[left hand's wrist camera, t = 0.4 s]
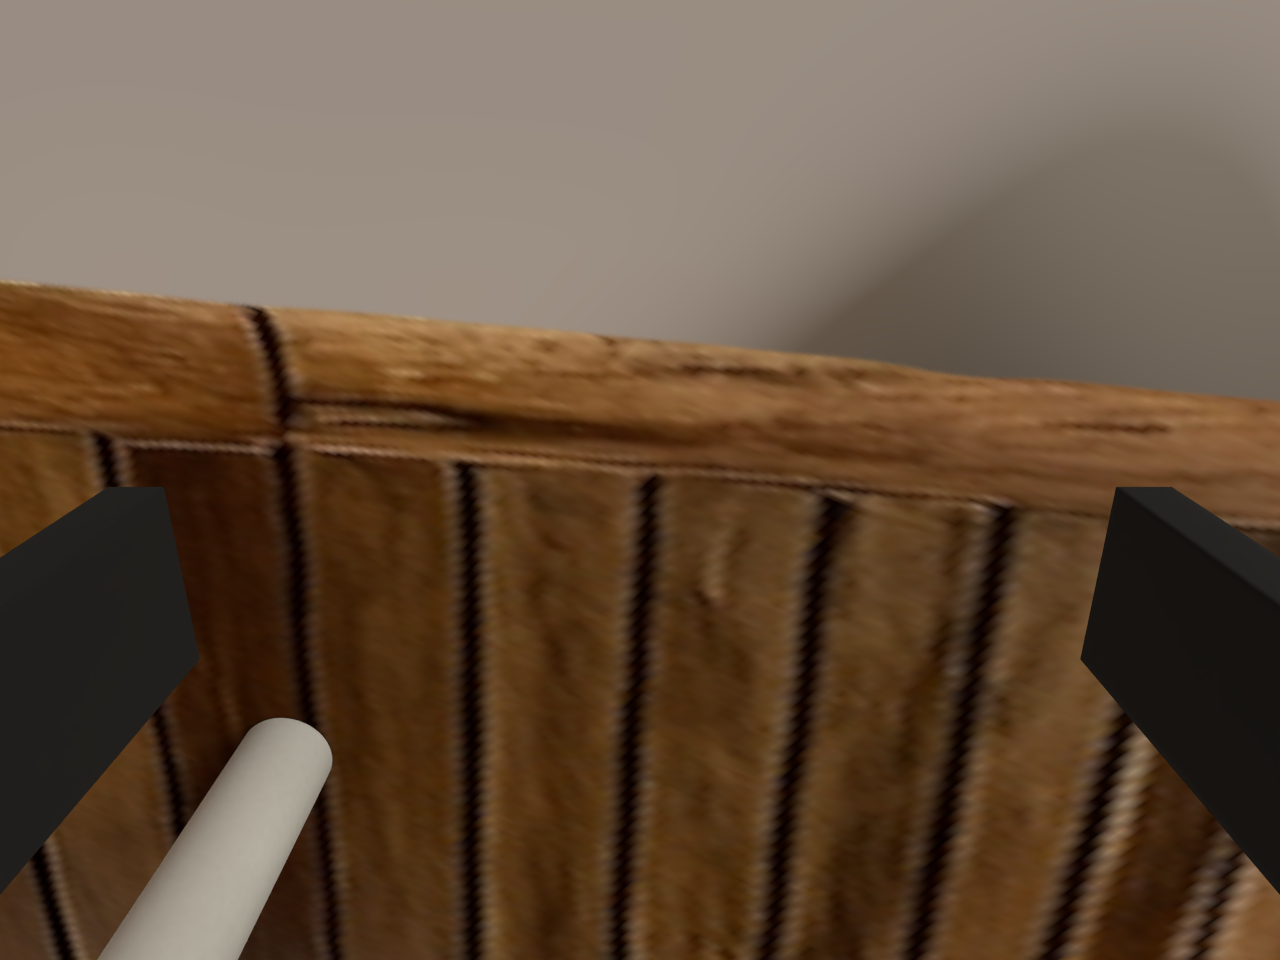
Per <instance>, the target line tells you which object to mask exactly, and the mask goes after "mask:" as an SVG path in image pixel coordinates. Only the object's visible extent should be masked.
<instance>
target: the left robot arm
mask: <svg viewBox="0 0 1280 960" xmlns="http://www.w3.org/2000/svg"><path fill="white" fill-rule="evenodd" d="M198 660H199V654H198V649H197V644H196V640H195V635H194V630H193V625H192V620H191V616H190V611H189V606H188V601H187V596H186V592H185V587H184V582H183V577H182V572H181V567H180V563H179V558H178V553H177V548H176V543H175V539H174V534H173V529H172V524H171V519H170V514H169V510H168V505H167V500H166V495H165V490H164V487H108V488H106V489H105V490H103V491H101V492H100V493H98V494H97V495H95V496H94V497H92V498H91V499H89V500H88V501H86V502H85V503H83V504H82V505H80V506H79V507H77V508H75V509H74V510H72V511H71V512H69V513H68V514H66V515H65V516H63V517H62V518H60V519H59V520H57V521H56V522H54V523H53V524H51V525H49V526H48V527H46V528H45V529H43V530H42V531H40V532H39V533H37V534H36V535H34V536H33V537H31V538H30V539H28V540H27V541H25V542H23V543H22V544H20V545H19V546H17V547H16V548H14V549H13V550H11V551H10V552H8V553H7V554H5V555H4V556H2V557H1V558H0V894H1V893H2V892H3V891H4V889H5V888H6V887H7V886H8V885H9V884H10V882H11V881H12V880H13V879H14V878H15V876H16V875H17V874H18V873H19V872H20V871H21V869H22V868H23V867H24V866H25V865H26V864H27V862H28V861H29V860H30V859H31V858H32V856H33V855H34V854H35V853H36V852H37V851H38V849H39V848H40V847H41V846H42V845H43V843H44V842H45V841H46V840H47V839H48V838H49V836H50V835H51V834H52V833H53V832H54V830H55V829H56V828H57V827H58V826H59V825H60V823H61V822H62V821H63V820H64V819H65V817H66V816H67V815H68V814H69V813H70V812H71V810H72V809H73V808H74V807H75V806H76V804H77V803H78V802H79V801H80V800H81V799H82V797H83V796H84V795H85V794H86V793H87V792H88V790H89V789H90V788H91V787H92V786H93V784H94V783H95V782H96V781H97V780H98V779H99V777H100V776H101V775H102V774H103V773H104V771H105V770H106V769H107V768H108V767H109V766H110V764H111V763H112V762H113V761H114V760H115V758H116V757H117V756H118V755H119V754H120V753H121V751H122V750H123V749H124V748H125V747H126V745H127V744H128V743H129V742H130V741H131V740H132V738H133V737H134V736H135V735H136V734H137V732H138V731H139V730H140V729H141V728H142V727H143V725H144V724H145V723H146V722H147V721H148V720H149V718H150V717H151V716H152V715H153V714H154V712H155V711H156V710H157V709H158V708H159V707H160V705H161V704H162V703H163V702H164V701H165V699H166V698H167V697H168V696H169V695H170V694H171V692H172V691H173V690H174V689H175V688H176V686H177V685H178V684H179V683H180V682H181V681H182V679H183V678H184V677H185V676H186V675H187V673H188V672H189V671H190V670H191V669H192V668H193V666H194V665H195V664H196V663H197V662H198ZM1081 660H1082V662H1083V663H1084V664H1085V665H1086V666H1087V668H1088V669H1089V670H1090V671H1091V672H1092V673H1093V675H1094V676H1095V677H1096V678H1097V679H1098V681H1099V682H1100V683H1101V684H1102V685H1103V686H1104V688H1105V689H1106V690H1107V691H1108V692H1109V694H1110V695H1111V696H1112V697H1113V698H1114V699H1115V701H1116V702H1117V703H1118V704H1119V705H1120V707H1121V708H1122V709H1123V710H1124V711H1125V712H1126V714H1127V715H1128V716H1129V717H1130V718H1131V720H1132V721H1133V722H1134V723H1135V724H1136V725H1137V727H1138V728H1139V729H1140V730H1141V731H1142V732H1143V734H1144V735H1145V736H1146V737H1147V738H1148V740H1149V741H1150V742H1151V743H1152V744H1153V745H1154V747H1155V748H1156V749H1157V750H1158V751H1159V753H1160V754H1161V755H1162V756H1163V757H1164V758H1165V760H1166V761H1167V762H1168V763H1169V764H1170V766H1171V767H1172V768H1173V769H1174V770H1175V771H1176V773H1177V774H1178V775H1179V776H1180V777H1181V779H1182V780H1183V781H1184V782H1185V783H1186V784H1187V786H1188V787H1189V788H1190V789H1191V790H1192V792H1193V793H1194V794H1195V795H1196V796H1197V797H1198V799H1199V800H1200V801H1201V802H1202V803H1203V804H1204V806H1205V807H1206V808H1207V809H1208V810H1209V812H1210V813H1211V814H1212V815H1213V816H1214V817H1215V819H1216V820H1217V821H1218V822H1219V823H1220V825H1221V826H1222V827H1223V828H1224V829H1225V830H1226V832H1227V833H1228V834H1229V835H1230V836H1231V838H1232V839H1233V840H1234V841H1235V842H1236V843H1237V845H1238V846H1239V847H1240V848H1241V849H1242V851H1243V852H1244V853H1245V854H1246V855H1247V856H1248V858H1249V859H1250V860H1251V861H1252V862H1253V864H1254V865H1255V866H1256V867H1257V868H1258V869H1259V871H1260V872H1261V873H1262V874H1263V875H1264V876H1265V878H1266V879H1267V880H1268V881H1269V882H1270V884H1271V885H1272V886H1273V887H1274V888H1275V889H1276V891H1277V892H1278V893H1279V894H1280V558H1279V557H1278V556H1276V555H1275V554H1273V553H1272V552H1270V551H1269V550H1267V549H1266V548H1264V547H1263V546H1261V545H1260V544H1258V543H1257V542H1255V541H1253V540H1252V539H1250V538H1249V537H1247V536H1246V535H1244V534H1243V533H1241V532H1240V531H1238V530H1237V529H1235V528H1234V527H1232V526H1231V525H1229V524H1227V523H1226V522H1224V521H1223V520H1221V519H1220V518H1218V517H1217V516H1215V515H1214V514H1212V513H1211V512H1209V511H1208V510H1206V509H1205V508H1203V507H1201V506H1200V505H1198V504H1197V503H1195V502H1194V501H1192V500H1191V499H1189V498H1188V497H1186V496H1185V495H1183V494H1182V493H1180V492H1179V491H1177V490H1175V489H1174V488H1172V487H1116V490H1115V495H1114V500H1113V505H1112V510H1111V514H1110V519H1109V524H1108V529H1107V534H1106V539H1105V543H1104V548H1103V553H1102V558H1101V563H1100V567H1099V572H1098V577H1097V582H1096V587H1095V592H1094V596H1093V601H1092V606H1091V611H1090V616H1089V620H1088V625H1087V630H1086V635H1085V640H1084V644H1083V649H1082V654H1081Z"/></svg>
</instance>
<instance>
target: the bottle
mask: <svg viewBox="0 0 1280 960" xmlns="http://www.w3.org/2000/svg"><path fill="white" fill-rule="evenodd" d="M331 767H332V754H331V750H330V747H329V745H328V743H327V741H326V740H325V739H324V737H323V736H322V735H321V734H320V733H319V732H318V731H317V730H315V729H314V728H313V727H311V726H309V725H307V724H306V723H303V722H301V721H298V720H294V719H289V718H274V719H268V720H265V721H263V722H260V723H258V724H257V725H255V726H254V727H252V728H251V729H250V730H249V731H248V733H247V734H246V736H245V737H244V739H243V740H242V742H241V743H240V745H239V746H238V748H237V749H236V751H235V752H234V754H233V755H232V757H231V758H230V760H229V761H228V763H227V764H226V766H225V767H224V769H223V770H222V772H221V773H220V775H219V776H218V778H217V779H216V781H215V782H214V784H213V785H212V787H211V788H210V790H209V791H208V793H207V794H206V796H205V798H204V799H203V801H202V802H201V804H200V805H199V807H198V808H197V810H196V811H195V813H194V814H193V816H192V817H191V819H190V820H189V822H188V823H187V825H186V826H185V828H184V829H183V831H182V832H181V834H180V835H179V837H178V838H177V840H176V841H175V843H174V844H173V846H172V847H171V849H170V850H169V852H168V853H167V855H166V856H165V858H164V859H163V861H162V862H161V864H160V866H159V867H158V869H157V870H156V872H155V873H154V875H153V876H152V878H151V879H150V881H149V882H148V884H147V885H146V887H145V888H144V890H143V891H142V893H141V894H140V896H139V897H138V899H137V900H136V902H135V903H134V905H133V906H132V908H131V909H130V911H129V912H128V914H127V915H126V917H125V918H124V920H123V921H122V923H121V924H120V926H119V927H118V929H117V930H116V932H115V934H114V935H113V937H112V938H111V940H110V941H109V943H108V944H107V946H106V947H105V949H104V950H103V952H102V953H101V955H100V956H99V958H98V959H97V960H238V958H239V956H240V954H241V952H242V950H243V948H244V946H245V944H246V942H247V940H248V938H249V935H250V933H251V931H252V929H253V927H254V925H255V923H256V921H257V919H258V917H259V915H260V913H261V911H262V909H263V907H264V905H265V903H266V901H267V899H268V897H269V895H270V893H271V891H272V889H273V887H274V884H275V882H276V880H277V878H278V876H279V874H280V872H281V870H282V868H283V866H284V864H285V862H286V860H287V858H288V856H289V854H290V852H291V850H292V848H293V846H294V844H295V842H296V840H297V838H298V836H299V834H300V831H301V829H302V827H303V825H304V823H305V821H306V819H307V817H308V815H309V813H310V811H311V809H312V807H313V805H314V803H315V801H316V799H317V797H318V795H319V793H320V791H321V789H322V787H323V785H324V783H325V781H326V778H327V776H328V774H329V772H330V770H331Z"/></svg>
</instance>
